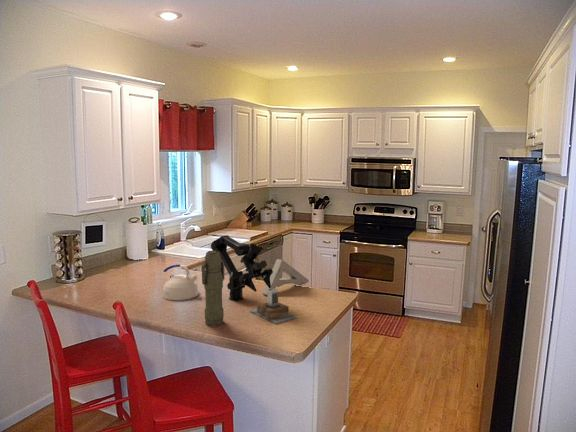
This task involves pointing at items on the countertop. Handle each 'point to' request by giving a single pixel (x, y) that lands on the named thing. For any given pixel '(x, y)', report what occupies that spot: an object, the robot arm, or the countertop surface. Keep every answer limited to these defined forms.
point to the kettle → (180, 286)
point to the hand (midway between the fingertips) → (263, 289)
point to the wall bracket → (277, 281)
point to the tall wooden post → (272, 298)
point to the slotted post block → (274, 313)
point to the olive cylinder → (213, 288)
